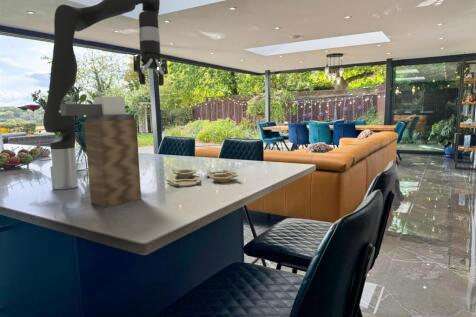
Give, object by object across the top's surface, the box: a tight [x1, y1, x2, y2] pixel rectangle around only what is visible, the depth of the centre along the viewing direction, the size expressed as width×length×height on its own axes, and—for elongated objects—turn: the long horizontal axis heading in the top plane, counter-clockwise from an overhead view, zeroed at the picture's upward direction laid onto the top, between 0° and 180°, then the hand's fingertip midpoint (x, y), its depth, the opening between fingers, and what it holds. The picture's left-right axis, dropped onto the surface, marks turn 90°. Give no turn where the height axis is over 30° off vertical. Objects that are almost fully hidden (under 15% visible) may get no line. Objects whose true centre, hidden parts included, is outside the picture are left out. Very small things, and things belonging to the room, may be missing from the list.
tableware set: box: [165, 168, 238, 188], centre depth 158 cm, size 35×29×4 cm
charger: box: [60, 96, 126, 116], centre depth 112 cm, size 20×6×6 cm, turn 142°
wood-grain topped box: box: [83, 113, 142, 208], centre depth 119 cm, size 14×10×31 cm
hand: (152, 84), depth 128 cm, fingers open, 8 cm apart
